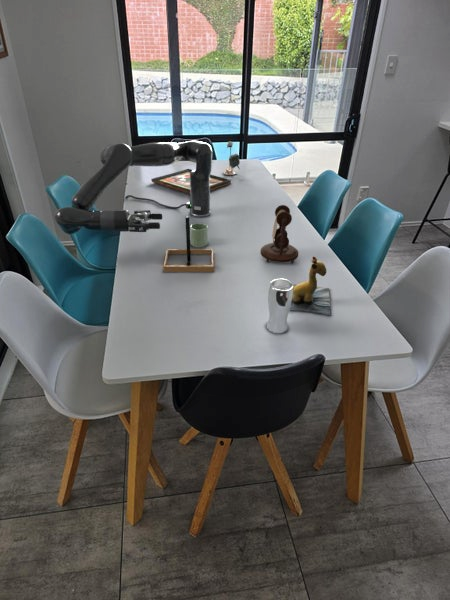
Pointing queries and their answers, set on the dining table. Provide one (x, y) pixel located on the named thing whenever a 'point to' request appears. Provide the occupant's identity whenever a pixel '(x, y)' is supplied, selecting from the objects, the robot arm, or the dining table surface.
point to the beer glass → (279, 304)
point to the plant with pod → (232, 161)
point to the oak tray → (184, 267)
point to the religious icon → (187, 181)
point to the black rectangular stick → (188, 240)
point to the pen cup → (199, 234)
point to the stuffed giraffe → (312, 292)
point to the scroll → (280, 239)
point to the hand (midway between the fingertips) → (161, 220)
